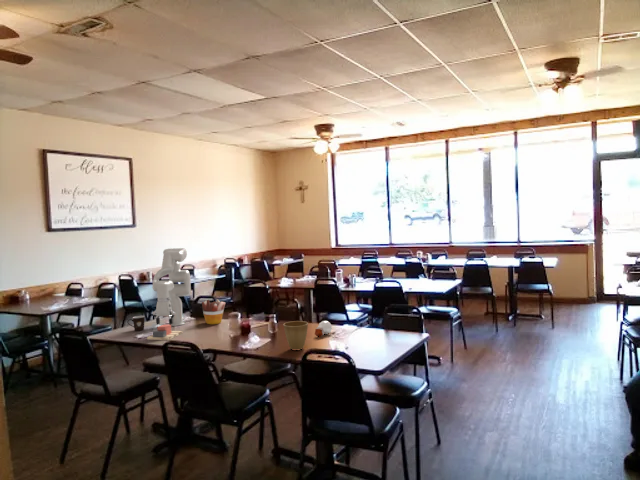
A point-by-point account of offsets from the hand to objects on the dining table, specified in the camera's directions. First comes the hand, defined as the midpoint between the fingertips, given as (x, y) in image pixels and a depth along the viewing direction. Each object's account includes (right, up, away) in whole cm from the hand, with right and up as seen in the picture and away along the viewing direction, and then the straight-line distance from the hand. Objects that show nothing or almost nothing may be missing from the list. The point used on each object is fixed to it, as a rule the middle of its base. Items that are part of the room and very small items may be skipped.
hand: (164, 324), depth 348 cm
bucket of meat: (+26, -6, +41) cm, 49 cm away
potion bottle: (+112, -6, -11) cm, 112 cm away
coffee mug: (-27, -9, +23) cm, 37 cm away
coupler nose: (-1, -7, -7) cm, 10 cm away
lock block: (0, -7, 0) cm, 7 cm away
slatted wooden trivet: (0, -9, 0) cm, 9 cm away
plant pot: (+95, -8, -45) cm, 105 cm away
